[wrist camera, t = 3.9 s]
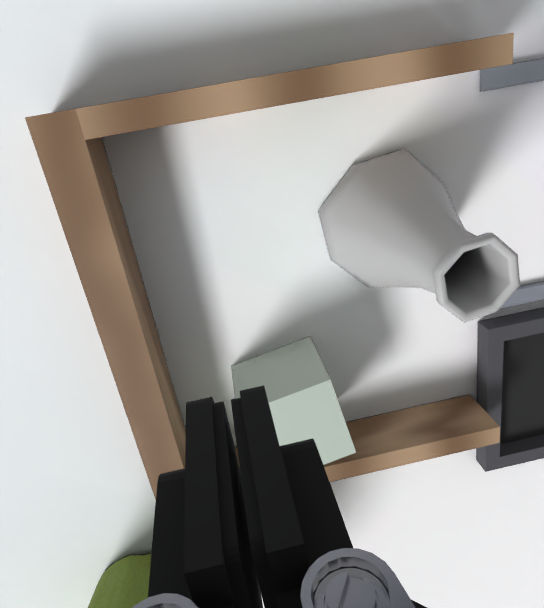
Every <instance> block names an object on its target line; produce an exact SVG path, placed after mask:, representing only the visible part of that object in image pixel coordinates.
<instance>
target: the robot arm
mask: <svg viewBox="0 0 544 608" xmlns="http://www.w3.org/2000/svg"><path fill="white" fill-rule="evenodd" d="M240 397H241V398H236V399H232V400H231V405H232V412H233V420H234V427H235V435H236V442H237V450H238V457H239V463H238V459H237V455H236V451H235V447H234V443H233V439H232V434H231V430H230V426H229V422H228V418H227V414H226V410H225V406H224V402H218V403H214V401H213V398H212V397H209V398H205V399H200V400H196V401H191V402H187V403H186V443H185V468H184V469H179V470H175V471H171V472H166V473H162V474H160V475H159V477H158V482H157V493H156V505H155V517H154V529H153V541H152V553H151V565H150V576H149V588H148V598H147V599H145V600H143V601H141V602H140V603H138V604H136V605H134V606H133V607H132V608H263V605H262V598H263V602H264V606H265V608H427V607H425V606H423V605H421V604H419V603H417V602H415V601H413V600H411V599H410V598H409V596H408V595H407V593H406V591H405V590H404V588H403V586H402V585H401V583H400V581H399V580H398V578H397V577H396V575H395V573H394V572H393V571H392V570H391V568H390V567H389V566H388V565H387V564H386V562H385V561H383V560H382V559H380V558H379V557H377V556H376V555H374V554H373V553H370V552H367V551H364V550H361V549H355V548H353V546H352V543H351V541H350V538H349V535H348V532H347V530H346V527H345V524H344V521H343V518H342V516H341V513H340V510H339V507H338V504H337V502H336V499H335V496H334V493H333V490H332V488H331V485H330V482H329V479H328V476H327V474H326V471H325V468H324V465H323V462H322V460H321V457H320V454H319V451H318V449H317V446H316V443H315V441H314V439H313V438H312V439H308V440H304V441H299V442H295V443H291V444H287V445H282V446H279V442H278V438H277V434H276V430H275V426H274V422H273V418H272V414H271V410H270V406H269V402H268V398H267V394H266V391H265V387H264V385H263V386H259V387H254V388H250V389H245V390H241V391H240ZM239 465H240V467H239ZM261 595H262V598H261Z"/></svg>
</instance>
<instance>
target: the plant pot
mask: <svg viewBox="0 0 544 608" xmlns="http://www.w3.org/2000/svg"><path fill="white" fill-rule="evenodd" d="M150 565H151V553H150V554H147V555H130V556H127V557H124V558H122V559H121V560H119V561H117V562H115V563H114V564H113V565H111V566H110V567H109V568H108V569H107V570H106V571H105V572H104V573H103V575H102V576H101V578H100V580H99V582H98V584H97V587H96V589H95V592H94V594H93V596H92V599H91V601H90V604H89V606H88V608H132V607H133V606H134V605H136V604H138V603H140V602H141V601H143V600H145V599H147V598H148V588H149V576H150Z"/></svg>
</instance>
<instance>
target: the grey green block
mask: <svg viewBox="0 0 544 608" xmlns="http://www.w3.org/2000/svg"><path fill="white" fill-rule="evenodd" d="M231 369H232V377H233V385H234V393H235V399H236V398H241V397H240V391H241V390H245V389H250V388H254V387H259V386H263V385H264V387H265V391H266V394H267V398H268V402H269V406H270V410H271V414H272V418H273V422H274V426H275V430H276V434H277V438H278V442H279V446H282V445H287V444H291V443H295V442H299V441H304V440H308V439H312V438H313V439H314V441H315V443H316V446H317V449H318V451H319V454H320V457H321V460H322V462H323V465H324V464H327V463H330V462H332V461H335V460H338V459H340V458H343V457H346V456H348V455H351V454H354V453H356V451H355V448H354V445H353V442H352V439H351V436H350V434H349V431H348V428H347V425H346V422H345V419H344V416H343V414H342V411H341V408H340V405H339V402H338V399H337V396H336V394H335V391H334V388H333V385H332V382H331V379H330V377H329V375H328V373H327V371H326V369H325V367H324V365H323V363H322V360H321V358H320V356H319V354H318V352H317V350H316V348H315V346H314V344H313V342H312V340H311V337H310V336H309V337H306V338H304V339H301V340H298V341H296V342H293V343H290V344H288V345H285V346H283V347H280V348H277V349H275V350H272V351H269V352H267V353H264V354H261V355H259V356H256V357H254V358H251V359H248V360H246V361H243V362H240V363H238V364H235V365H232V366H231Z"/></svg>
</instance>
